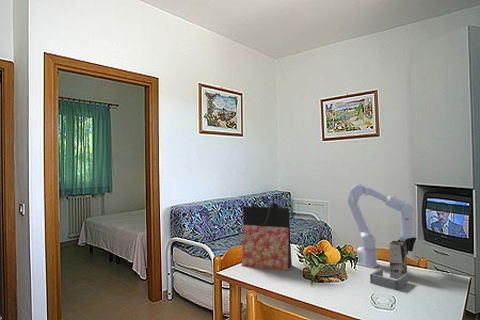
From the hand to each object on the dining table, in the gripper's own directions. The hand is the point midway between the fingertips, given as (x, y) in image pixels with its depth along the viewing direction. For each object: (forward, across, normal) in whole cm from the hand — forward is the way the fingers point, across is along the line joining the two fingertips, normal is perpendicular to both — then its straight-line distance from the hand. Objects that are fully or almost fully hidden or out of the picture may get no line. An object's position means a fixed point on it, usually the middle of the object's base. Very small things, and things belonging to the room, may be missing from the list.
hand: (407, 252), depth 160 cm
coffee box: (+9, -13, 0) cm, 16 cm away
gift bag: (+8, -45, +55) cm, 72 cm away
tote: (+8, -25, 0) cm, 26 cm away
